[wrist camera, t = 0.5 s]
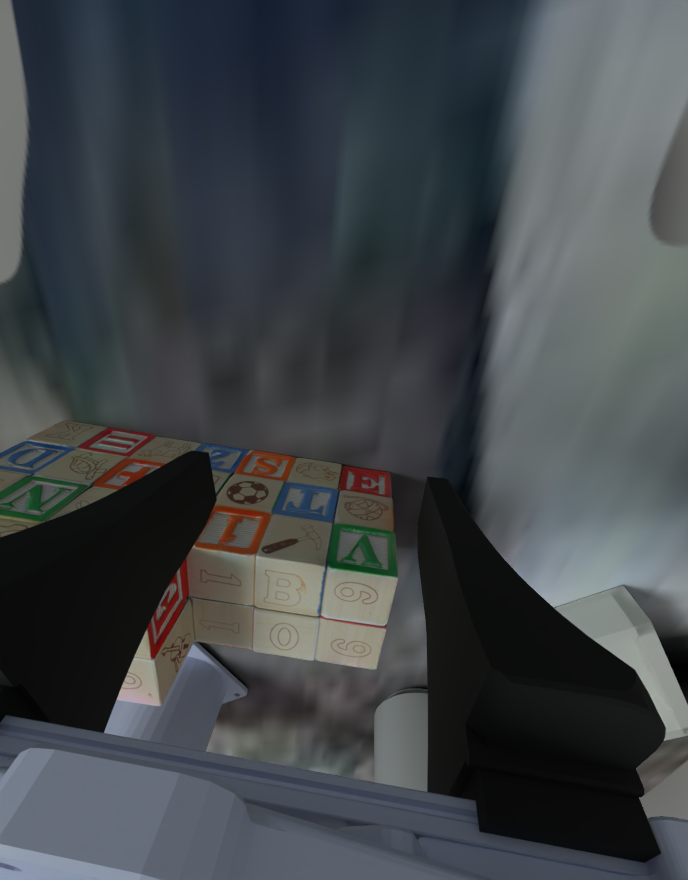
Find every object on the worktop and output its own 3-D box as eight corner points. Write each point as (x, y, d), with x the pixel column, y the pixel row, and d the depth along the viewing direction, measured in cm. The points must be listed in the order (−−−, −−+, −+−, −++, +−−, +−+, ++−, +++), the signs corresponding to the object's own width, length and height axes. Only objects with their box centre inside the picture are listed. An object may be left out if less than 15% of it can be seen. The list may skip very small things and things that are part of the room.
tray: (493, 735, 35) (503, 775, 32) (427, 650, 31) (433, 687, 28) (671, 691, 31) (699, 732, 28) (623, 584, 26) (651, 622, 24)
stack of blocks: (392, 468, 24) (408, 646, 13) (376, 544, 27) (378, 746, 16) (61, 418, 24) (-204, 551, 13) (78, 499, 27) (-130, 666, 16)
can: (402, 740, 36) (413, 944, 25) (358, 697, 34) (350, 901, 23) (473, 719, 34) (520, 932, 23) (432, 671, 32) (461, 883, 21)
